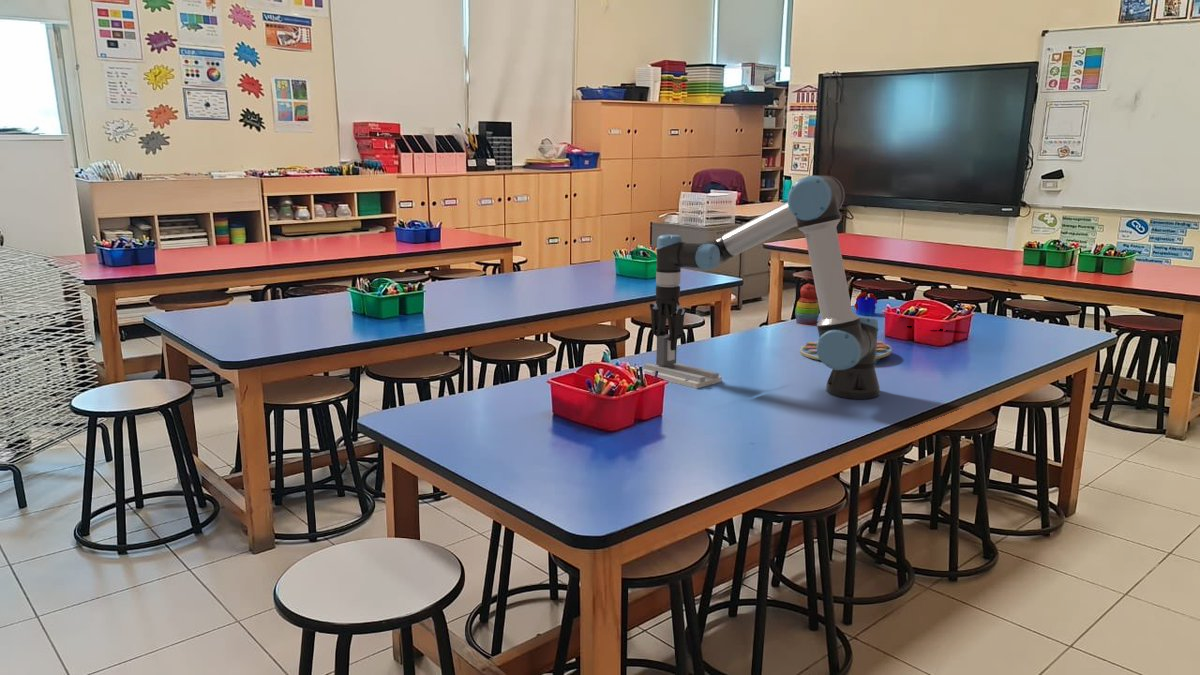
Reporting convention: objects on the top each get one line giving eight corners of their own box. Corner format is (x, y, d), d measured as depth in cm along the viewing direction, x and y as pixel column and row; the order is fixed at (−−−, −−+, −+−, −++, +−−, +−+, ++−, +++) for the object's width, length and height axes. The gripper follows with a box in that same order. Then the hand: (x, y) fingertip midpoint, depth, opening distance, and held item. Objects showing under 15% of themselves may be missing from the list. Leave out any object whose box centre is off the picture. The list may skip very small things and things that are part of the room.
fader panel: (721, 381, 267) (722, 372, 266) (696, 388, 258) (696, 378, 258) (665, 368, 283) (665, 359, 282) (640, 374, 274) (640, 365, 274)
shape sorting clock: (799, 345, 319) (799, 329, 318) (885, 349, 313) (887, 333, 312) (800, 365, 290) (801, 347, 289) (896, 370, 284) (897, 352, 283)
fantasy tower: (873, 317, 374) (875, 290, 372) (883, 322, 363) (885, 294, 360) (846, 317, 374) (848, 290, 371) (855, 322, 362) (857, 294, 360)
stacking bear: (818, 331, 344) (821, 286, 340) (792, 329, 347) (794, 285, 344) (821, 326, 354) (824, 283, 350) (796, 324, 357) (798, 281, 354)
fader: (676, 368, 275) (676, 335, 273) (663, 371, 271) (664, 338, 269) (668, 366, 277) (669, 333, 275) (656, 369, 273) (656, 336, 271)
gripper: (696, 286, 266) (693, 361, 271) (656, 281, 277) (655, 352, 282) (679, 289, 261) (677, 365, 265) (640, 283, 272) (639, 356, 277)
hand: (666, 358), depth 274 cm, fingers closed on fader, 3 cm apart
